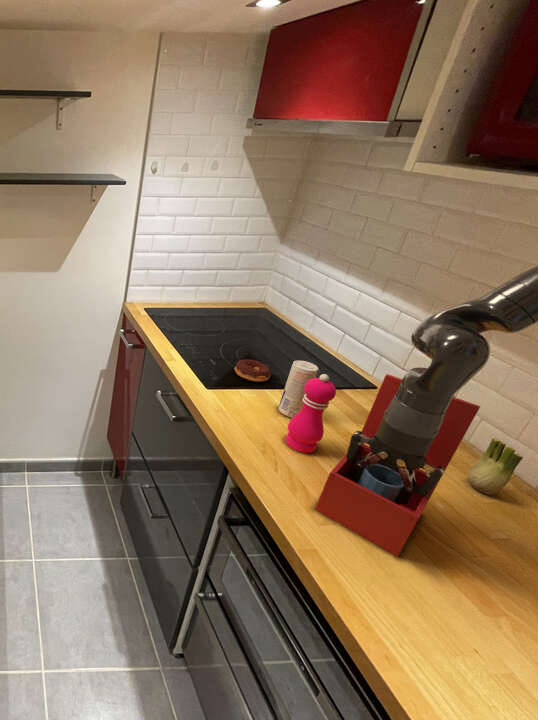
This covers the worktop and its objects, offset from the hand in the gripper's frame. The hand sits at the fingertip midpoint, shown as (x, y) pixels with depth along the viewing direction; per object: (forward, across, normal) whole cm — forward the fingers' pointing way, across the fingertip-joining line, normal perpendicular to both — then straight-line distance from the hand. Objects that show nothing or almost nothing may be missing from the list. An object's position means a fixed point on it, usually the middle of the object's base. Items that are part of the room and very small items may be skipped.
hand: (377, 491), depth 88 cm
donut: (+6, +40, -34) cm, 53 cm away
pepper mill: (+6, +17, -12) cm, 21 cm away
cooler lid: (-13, 0, -7) cm, 15 cm away
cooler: (+6, 0, 0) cm, 6 cm away
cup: (+4, 0, 0) cm, 4 cm away
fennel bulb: (+6, -13, -28) cm, 31 cm away
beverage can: (+6, +24, -24) cm, 34 cm away
